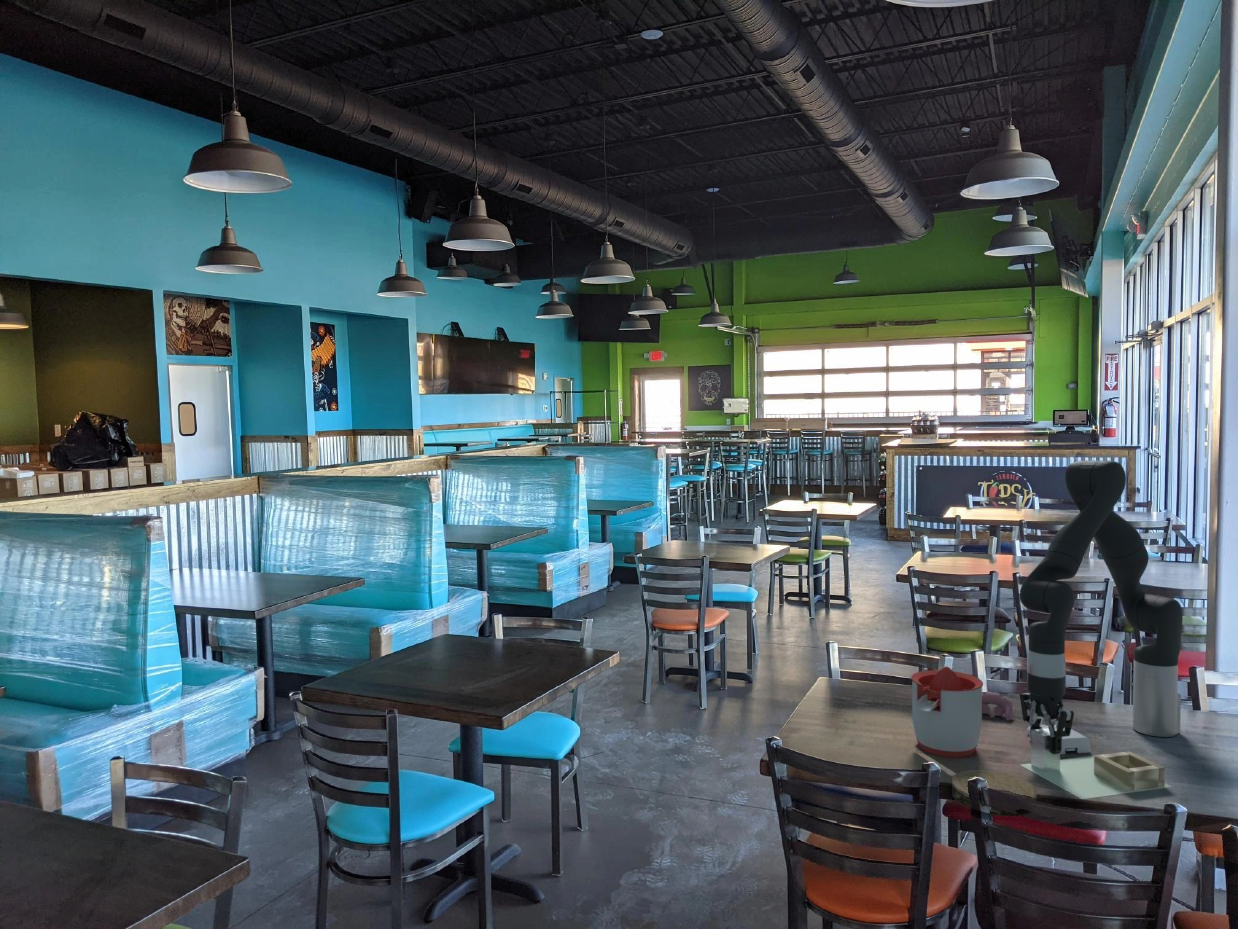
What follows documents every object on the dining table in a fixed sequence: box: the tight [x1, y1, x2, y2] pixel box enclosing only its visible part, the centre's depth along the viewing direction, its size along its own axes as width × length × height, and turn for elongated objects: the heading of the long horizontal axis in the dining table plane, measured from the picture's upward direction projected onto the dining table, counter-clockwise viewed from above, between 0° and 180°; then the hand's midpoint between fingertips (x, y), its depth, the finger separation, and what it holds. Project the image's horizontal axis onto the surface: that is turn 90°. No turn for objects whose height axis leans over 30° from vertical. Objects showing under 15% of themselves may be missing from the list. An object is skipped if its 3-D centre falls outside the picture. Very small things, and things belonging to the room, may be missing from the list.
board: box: [1020, 753, 1173, 800], centre depth 183 cm, size 22×18×1 cm
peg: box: [1030, 728, 1061, 773], centre depth 187 cm, size 4×4×8 cm
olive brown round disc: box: [951, 769, 1038, 817], centre depth 175 cm, size 16×16×3 cm
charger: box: [1025, 723, 1091, 755], centre depth 203 cm, size 5×9×15 cm
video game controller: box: [982, 691, 1014, 722], centre depth 224 cm, size 10×5×7 cm, turn 58°
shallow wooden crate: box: [1093, 751, 1166, 791], centre depth 180 cm, size 9×9×4 cm
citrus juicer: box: [910, 666, 984, 758], centre depth 199 cm, size 16×17×20 cm
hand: (1045, 748), depth 187 cm, fingers open, 5 cm apart
